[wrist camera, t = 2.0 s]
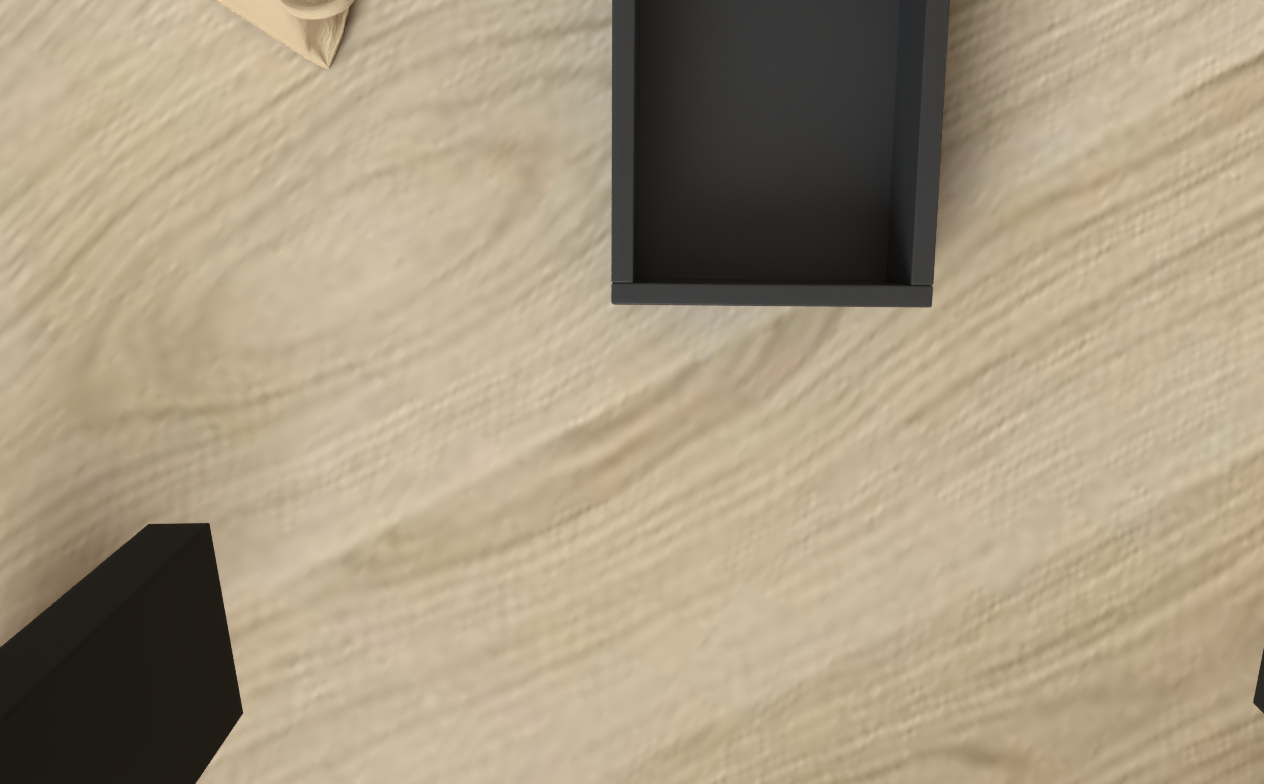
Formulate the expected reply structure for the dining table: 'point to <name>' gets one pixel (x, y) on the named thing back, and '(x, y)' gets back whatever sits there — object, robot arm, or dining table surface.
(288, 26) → the decorative ornament
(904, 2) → the holder
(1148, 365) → the dining table surface
